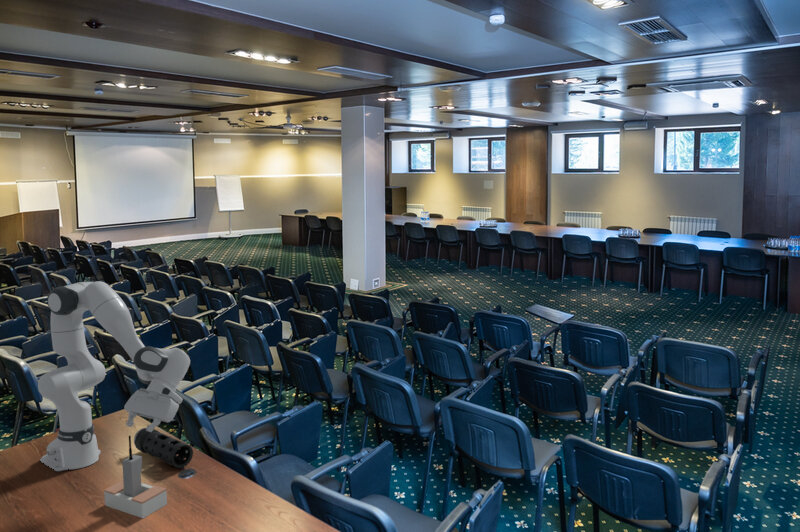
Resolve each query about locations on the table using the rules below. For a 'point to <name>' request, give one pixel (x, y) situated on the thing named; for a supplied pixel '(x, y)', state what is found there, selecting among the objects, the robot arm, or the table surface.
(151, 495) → the tan rectangular frame
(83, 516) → the table surface
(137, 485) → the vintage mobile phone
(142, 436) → the muzzle brake
